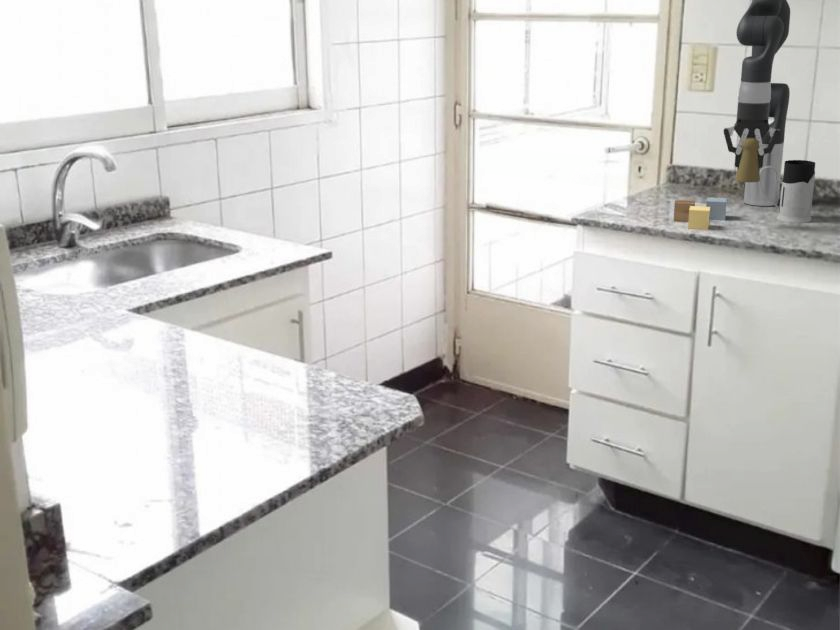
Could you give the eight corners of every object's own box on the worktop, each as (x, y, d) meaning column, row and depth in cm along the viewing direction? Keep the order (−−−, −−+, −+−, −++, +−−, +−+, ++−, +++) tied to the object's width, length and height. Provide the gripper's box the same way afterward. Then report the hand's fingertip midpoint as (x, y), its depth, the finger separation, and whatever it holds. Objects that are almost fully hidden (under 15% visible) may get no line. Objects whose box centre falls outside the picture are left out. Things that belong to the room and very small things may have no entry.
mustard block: (688, 224, 259) (690, 205, 257) (708, 226, 258) (710, 206, 256) (687, 229, 254) (689, 209, 253) (708, 230, 253) (709, 210, 251)
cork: (757, 177, 255) (760, 134, 251) (762, 182, 249) (766, 138, 245) (732, 177, 255) (736, 134, 252) (737, 182, 249) (741, 138, 246)
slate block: (705, 215, 269) (707, 197, 267) (725, 216, 267) (726, 198, 266) (705, 219, 264) (706, 201, 263) (725, 220, 263) (726, 202, 261)
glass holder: (814, 223, 258) (820, 165, 253) (756, 221, 261) (761, 164, 256) (809, 216, 266) (815, 159, 261) (753, 214, 269) (758, 158, 264)
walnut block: (674, 217, 267) (675, 199, 266) (693, 218, 266) (695, 200, 264) (673, 221, 263) (674, 202, 261) (693, 222, 261) (694, 203, 260)
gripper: (784, 98, 247) (777, 167, 253) (724, 98, 251) (719, 165, 257) (785, 102, 240) (778, 173, 246) (723, 101, 244) (718, 171, 250)
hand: (748, 168), depth 251 cm, fingers closed on cork, 4 cm apart
